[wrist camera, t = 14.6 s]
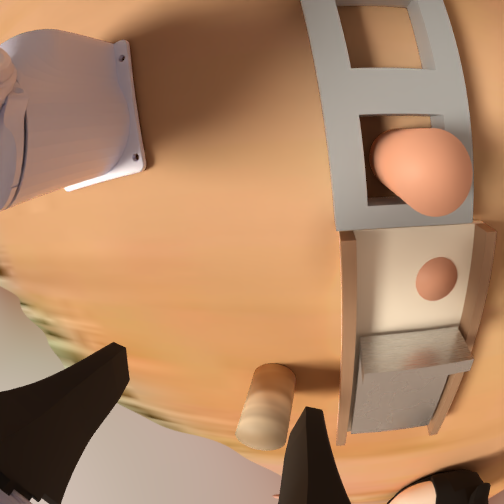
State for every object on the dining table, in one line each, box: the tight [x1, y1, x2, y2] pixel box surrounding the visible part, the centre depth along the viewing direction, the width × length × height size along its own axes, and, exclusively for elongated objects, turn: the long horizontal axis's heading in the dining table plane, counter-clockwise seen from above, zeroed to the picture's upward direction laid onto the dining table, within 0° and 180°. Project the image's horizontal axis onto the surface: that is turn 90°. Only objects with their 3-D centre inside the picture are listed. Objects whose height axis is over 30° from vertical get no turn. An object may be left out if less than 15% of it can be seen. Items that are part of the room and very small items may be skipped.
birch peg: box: [235, 363, 296, 450], centre depth 20 cm, size 3×3×6 cm
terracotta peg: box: [369, 128, 473, 217], centre depth 12 cm, size 3×3×6 cm
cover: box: [351, 326, 474, 434], centre depth 18 cm, size 10×7×4 cm
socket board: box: [300, 0, 474, 231], centre depth 12 cm, size 14×8×2 cm, turn 9°
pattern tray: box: [336, 220, 497, 446], centre depth 18 cm, size 19×10×2 cm, turn 9°
